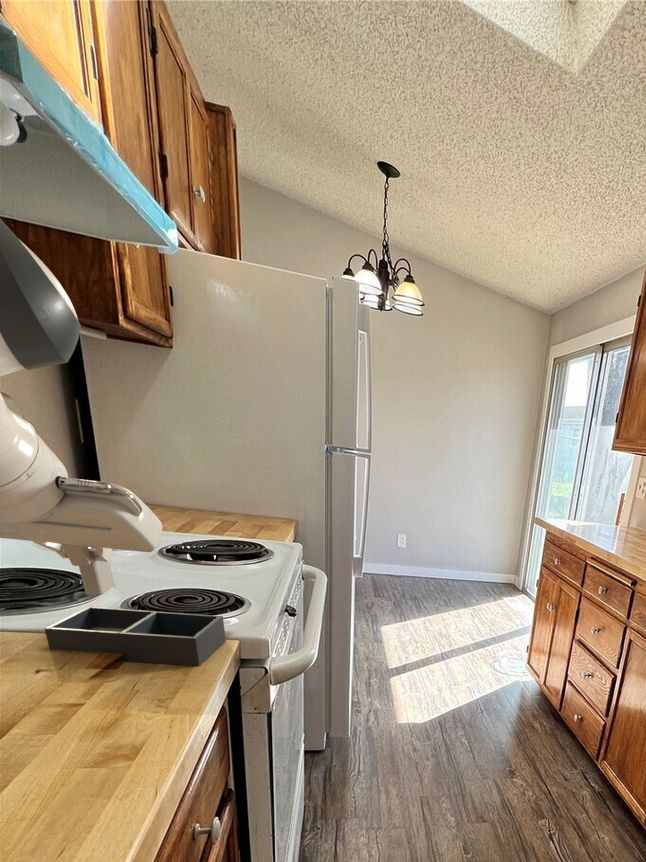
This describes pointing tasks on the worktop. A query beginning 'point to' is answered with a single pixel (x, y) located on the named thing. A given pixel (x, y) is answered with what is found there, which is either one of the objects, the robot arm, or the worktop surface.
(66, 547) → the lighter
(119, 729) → the worktop surface
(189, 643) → the sorter
